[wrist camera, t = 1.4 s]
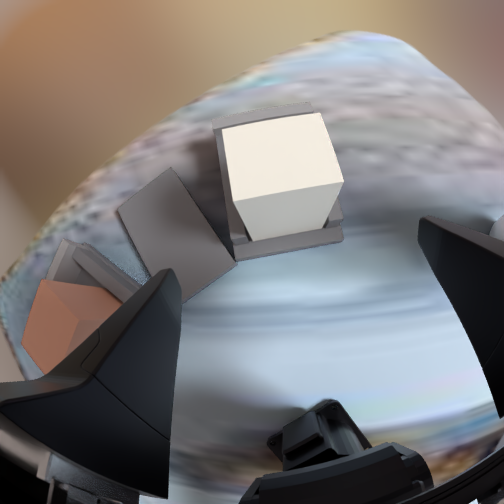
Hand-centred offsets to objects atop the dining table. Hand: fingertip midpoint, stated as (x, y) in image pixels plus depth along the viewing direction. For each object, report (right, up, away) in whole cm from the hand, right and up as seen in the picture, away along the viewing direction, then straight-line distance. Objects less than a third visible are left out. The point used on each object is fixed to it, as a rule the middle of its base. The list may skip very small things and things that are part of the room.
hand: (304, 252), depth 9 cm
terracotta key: (-13, -6, +11) cm, 18 cm away
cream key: (0, +3, +11) cm, 11 cm away
